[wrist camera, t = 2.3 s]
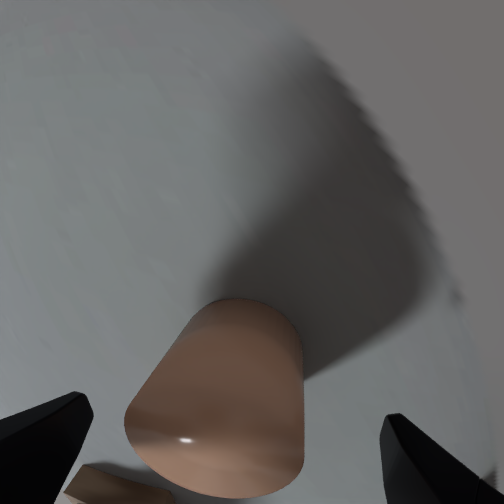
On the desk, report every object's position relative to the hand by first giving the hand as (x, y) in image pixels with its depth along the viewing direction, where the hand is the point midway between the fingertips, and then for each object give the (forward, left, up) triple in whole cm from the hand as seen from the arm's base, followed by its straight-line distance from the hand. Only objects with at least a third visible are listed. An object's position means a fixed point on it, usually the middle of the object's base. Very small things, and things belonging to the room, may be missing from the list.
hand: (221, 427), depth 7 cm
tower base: (+9, +15, -4) cm, 18 cm away
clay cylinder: (0, 0, -4) cm, 4 cm away
